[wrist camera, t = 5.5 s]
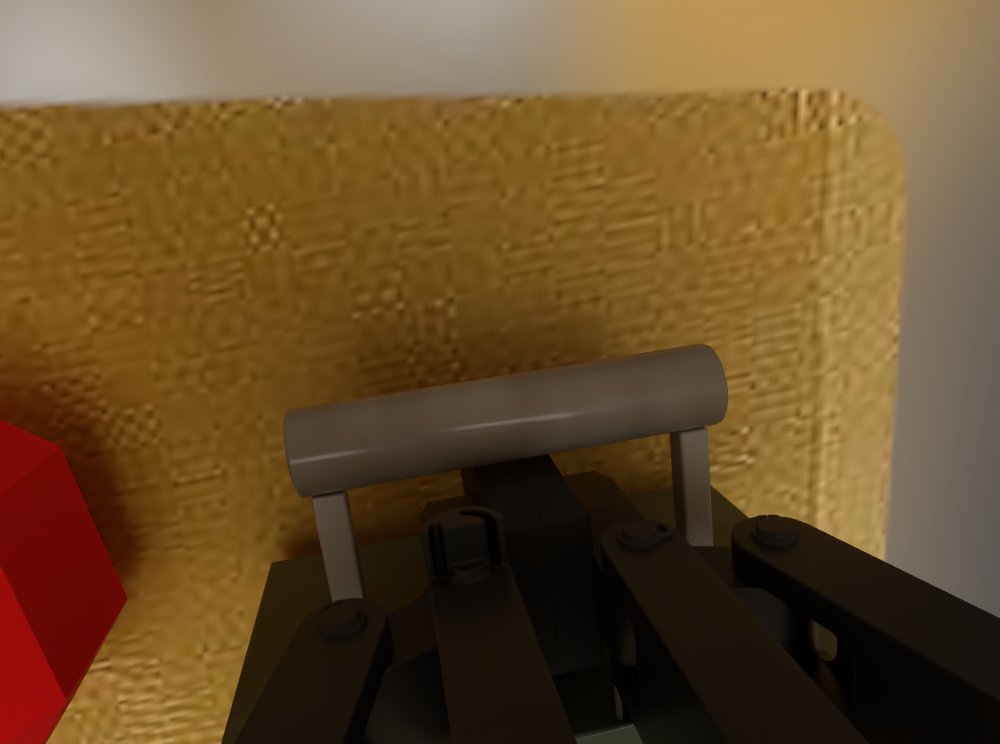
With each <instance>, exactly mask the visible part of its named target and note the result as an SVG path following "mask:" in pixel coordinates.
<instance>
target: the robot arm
mask: <svg viewBox="0 0 1000 744" xmlns="http://www.w3.org/2000/svg"><path fill="white" fill-rule="evenodd" d="M461 474H462V481H463V488H464V495H465V496H460V497H455V498H449V499H444V500H438V501H432V502H427V504H426V505H425V507H424V508H423V510H422V511H421V513H420V514H419V519H420V526H421V532H420V534H421V540H422V547H423V553H424V559H425V565H426V572H427V578H428V581H427V585H426V587H425V589H424V591H423V592H422V593H421V594H420V595H419V596H418V597H417V598H416V599H415V600H413V601H412V602H410V603H409V604H407V605H405V606H403V607H401V608H399V609H397V610H395V611H392V612H390V613H387V610H386V609H385V607H384V606H383V605H382V604H381V603H380V602H377V601H375V600H372V599H369V598H350V599H340V600H337V601H333V603H328V604H326V605H324V606H322V607H320V608H319V609H317V610H316V611H314V612H313V613H311V614H310V615H308V616H307V617H306V618H305V620H304V621H303V622H302V623H301V624H300V625H299V627H298V629H297V630H296V632H295V634H294V636H293V638H292V639H291V641H290V643H289V645H288V647H287V648H286V650H285V652H284V654H283V656H282V658H281V659H280V661H279V663H278V665H277V667H276V668H275V670H274V672H273V674H272V676H271V677H270V679H269V681H268V683H267V685H266V686H265V688H264V690H263V692H262V694H261V695H260V697H259V699H258V701H257V703H256V704H255V706H254V708H253V710H252V712H251V713H250V715H249V717H248V719H247V721H246V722H245V724H244V726H243V728H242V730H241V731H240V733H239V735H238V737H237V739H236V741H235V742H234V744H432V743H434V742H436V741H438V740H440V739H442V738H444V737H446V736H448V735H450V734H451V740H452V744H577V742H576V739H575V737H574V734H573V731H572V729H571V726H570V723H569V721H568V718H567V716H566V713H565V710H564V708H563V705H562V702H561V700H560V697H559V694H558V692H557V689H556V686H555V684H554V681H553V678H552V675H557V674H562V673H566V672H571V671H575V670H580V669H585V668H589V667H594V666H598V665H603V664H604V660H603V649H602V639H601V636H602V638H603V640H604V642H605V644H606V646H607V648H608V650H609V652H610V659H611V670H612V681H613V692H614V704H615V713H616V718H617V721H619V720H623V707H624V705H625V707H626V710H627V712H628V714H629V716H630V718H631V720H632V722H633V724H634V726H635V728H636V730H637V732H638V734H639V736H640V738H641V740H642V742H643V744H1000V618H998V617H996V616H994V615H992V614H990V613H988V612H986V611H984V610H982V609H980V608H978V607H976V606H974V605H971V604H970V603H968V602H965V601H964V600H962V599H959V598H957V597H955V596H953V595H951V594H949V593H947V592H945V591H943V590H941V589H939V588H937V587H935V586H933V585H931V584H929V583H927V582H925V581H923V580H920V579H919V578H917V577H914V576H913V575H910V574H909V573H907V572H904V571H902V570H900V569H898V568H896V567H894V566H892V565H890V564H888V563H886V562H884V561H882V560H880V559H878V558H876V557H874V556H872V555H870V554H868V553H866V552H864V551H862V550H860V549H858V548H856V547H854V546H851V545H849V544H847V543H845V542H843V541H841V540H839V539H837V538H835V537H833V536H831V535H829V534H827V533H825V532H823V531H821V530H819V529H817V528H815V527H813V526H811V525H809V524H807V523H804V522H801V521H798V520H795V519H793V518H787V517H780V516H778V515H768V516H767V515H759V516H757V517H753V518H748V519H745V520H743V521H741V522H739V523H737V524H735V526H734V527H733V529H732V530H731V546H692V545H690V544H689V543H688V541H687V540H686V539H685V538H684V537H683V536H682V535H681V534H680V533H679V531H677V530H676V529H675V528H673V527H672V526H670V525H668V524H665V523H662V522H659V521H654V520H646V519H645V518H644V517H643V515H642V514H641V513H640V512H639V511H638V510H637V508H636V507H635V506H634V505H633V504H632V502H631V501H630V500H628V499H627V496H626V495H625V494H624V493H623V492H622V491H620V488H619V487H618V486H617V485H616V483H615V482H614V481H613V480H612V479H611V478H610V477H607V476H605V475H603V474H600V473H598V472H596V471H589V472H584V473H578V474H572V475H567V476H562V474H561V473H560V471H559V470H558V468H557V467H556V465H555V464H554V462H553V461H552V459H551V458H550V457H549V455H548V454H547V455H541V456H535V457H530V458H524V459H518V460H513V461H507V462H501V463H496V464H490V465H484V466H479V467H473V468H468V469H462V470H461ZM820 625H821V626H822V627H824V628H825V629H827V630H829V631H830V632H832V633H833V634H834V635H835V636H836V637H837V653H836V656H835V655H832V654H830V653H828V652H827V651H825V650H824V649H823V648H821V647H820Z"/></svg>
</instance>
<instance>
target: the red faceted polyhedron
mask: <svg viewBox="0 0 1000 744" xmlns="http://www.w3.org/2000/svg"><path fill="white" fill-rule="evenodd" d="M127 599H128V598H127V596H126V594H125V591H124V589H123V587H122V585H121V582H120V580H119V578H118V576H117V573H116V571H115V569H114V566H113V564H112V562H111V560H110V557H109V555H108V553H107V550H106V548H105V546H104V544H103V541H102V539H101V537H100V535H99V532H98V530H97V528H96V525H95V523H94V521H93V519H92V516H91V514H90V512H89V509H88V507H87V505H86V503H85V500H84V498H83V496H82V493H81V491H80V489H79V487H78V484H77V482H76V480H75V478H74V475H73V473H72V471H71V468H70V466H69V464H68V462H67V459H66V457H65V455H64V452H63V450H62V448H61V446H58V445H56V444H54V443H52V442H49V441H47V440H45V439H43V438H40V437H38V436H36V435H33V434H31V433H29V432H27V431H24V430H22V429H20V428H18V427H15V426H13V425H11V424H9V423H6V422H4V421H2V420H0V744H46V742H47V740H48V739H49V737H50V735H51V734H52V732H53V730H54V729H55V727H56V725H57V724H58V722H59V720H60V719H61V717H62V715H63V714H64V712H65V710H66V708H67V707H68V705H69V703H70V702H71V700H72V698H73V696H74V695H75V693H76V691H77V689H78V687H79V686H80V684H81V682H82V680H83V678H84V677H85V675H86V673H87V671H88V669H89V668H90V666H91V664H92V662H93V660H94V659H95V657H96V655H97V653H98V651H99V649H100V648H101V646H102V644H103V642H104V640H105V639H106V637H107V635H108V633H109V631H110V630H111V628H112V626H113V624H114V622H115V621H116V619H117V617H118V615H119V613H120V612H121V610H122V608H123V606H124V604H125V603H126V601H127Z"/></svg>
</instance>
